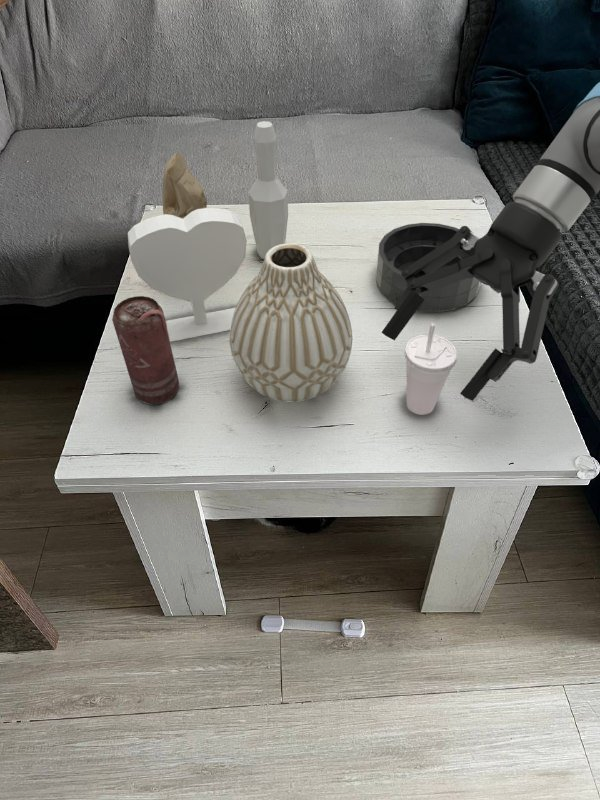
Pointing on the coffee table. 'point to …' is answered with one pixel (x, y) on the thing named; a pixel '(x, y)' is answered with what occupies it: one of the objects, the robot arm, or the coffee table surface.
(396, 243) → the bowl
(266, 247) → the low poly bottle
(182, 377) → the coffee table surface
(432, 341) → the smoothie
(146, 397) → the can
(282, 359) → the vase
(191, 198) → the tan rock
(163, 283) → the heart sculpture
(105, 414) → the coffee table surface
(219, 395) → the coffee table surface
